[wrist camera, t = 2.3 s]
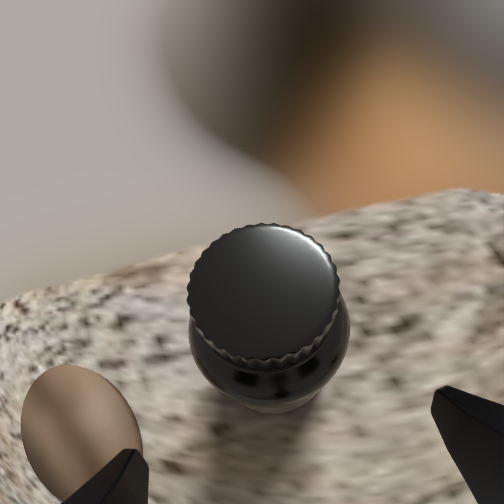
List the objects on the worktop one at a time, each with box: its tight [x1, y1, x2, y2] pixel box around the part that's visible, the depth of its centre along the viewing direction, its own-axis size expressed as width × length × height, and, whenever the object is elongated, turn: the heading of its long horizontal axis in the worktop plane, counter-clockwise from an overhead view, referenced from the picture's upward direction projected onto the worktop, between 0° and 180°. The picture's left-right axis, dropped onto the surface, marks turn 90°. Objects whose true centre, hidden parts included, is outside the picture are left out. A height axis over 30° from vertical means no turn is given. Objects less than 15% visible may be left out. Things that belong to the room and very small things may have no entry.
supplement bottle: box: [187, 223, 350, 414], centre depth 14 cm, size 7×7×12 cm
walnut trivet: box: [21, 365, 143, 501], centre depth 16 cm, size 12×12×1 cm
